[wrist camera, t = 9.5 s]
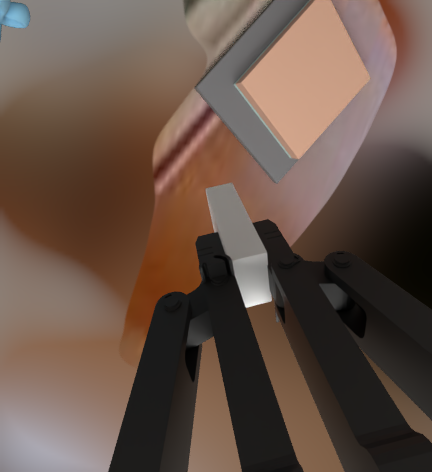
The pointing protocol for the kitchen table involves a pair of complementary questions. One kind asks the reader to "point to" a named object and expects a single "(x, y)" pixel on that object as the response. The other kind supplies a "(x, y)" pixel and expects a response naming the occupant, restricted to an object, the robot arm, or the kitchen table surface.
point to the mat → (230, 99)
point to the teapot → (13, 14)
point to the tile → (304, 77)
